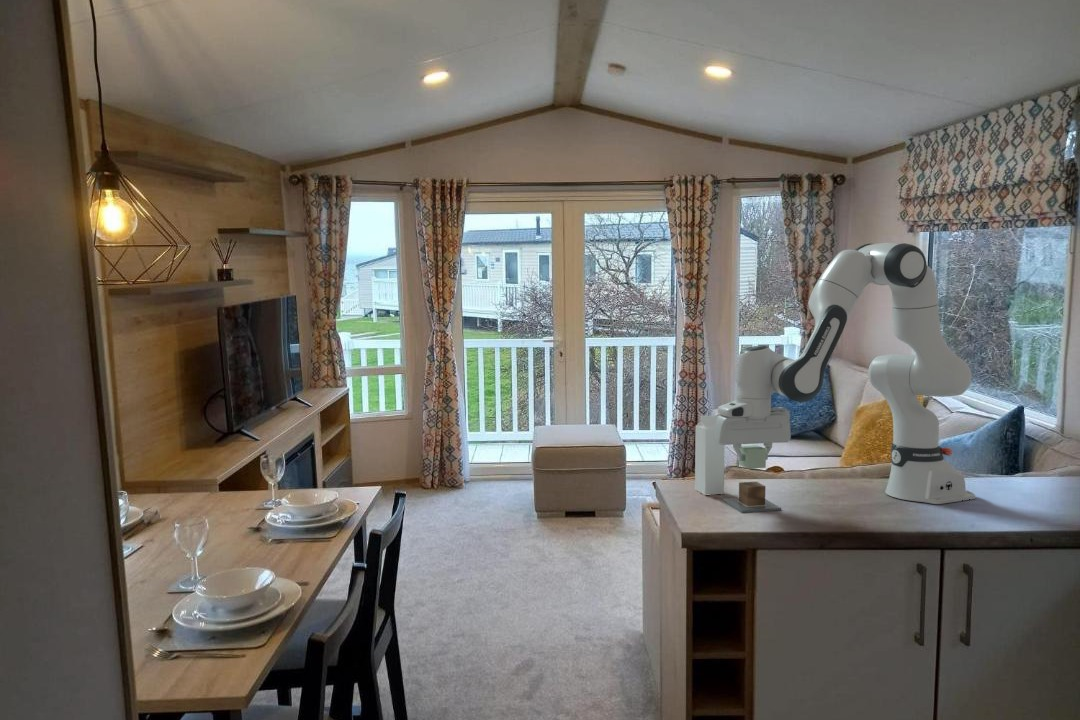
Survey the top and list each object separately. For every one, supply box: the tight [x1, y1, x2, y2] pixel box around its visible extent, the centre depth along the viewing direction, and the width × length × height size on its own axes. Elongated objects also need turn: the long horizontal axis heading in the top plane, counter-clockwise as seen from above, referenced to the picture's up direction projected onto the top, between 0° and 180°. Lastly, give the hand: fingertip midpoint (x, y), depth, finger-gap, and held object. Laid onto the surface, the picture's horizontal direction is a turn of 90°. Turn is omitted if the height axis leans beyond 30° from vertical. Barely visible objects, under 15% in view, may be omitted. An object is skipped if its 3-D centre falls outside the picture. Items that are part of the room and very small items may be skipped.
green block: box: [738, 444, 767, 470], centre depth 190 cm, size 5×5×5 cm
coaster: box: [722, 497, 782, 514], centre depth 191 cm, size 11×11×1 cm
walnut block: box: [738, 481, 766, 506], centre depth 191 cm, size 5×5×5 cm
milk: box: [694, 414, 726, 495], centre depth 204 cm, size 6×6×22 cm
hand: (752, 460), depth 190 cm, fingers closed on green block, 5 cm apart
